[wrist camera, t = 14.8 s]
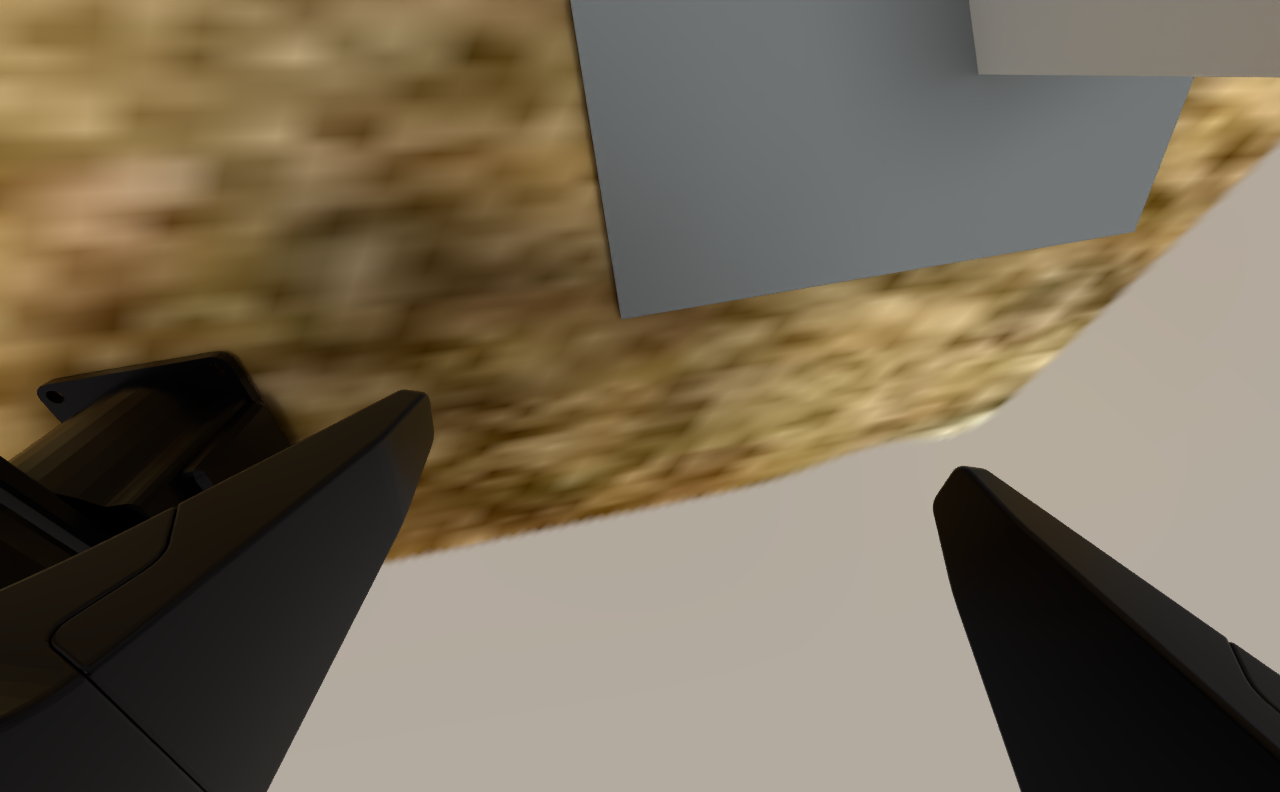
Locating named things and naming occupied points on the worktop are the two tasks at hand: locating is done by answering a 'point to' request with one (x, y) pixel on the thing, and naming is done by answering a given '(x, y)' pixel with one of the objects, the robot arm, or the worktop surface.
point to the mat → (842, 145)
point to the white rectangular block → (1127, 37)
